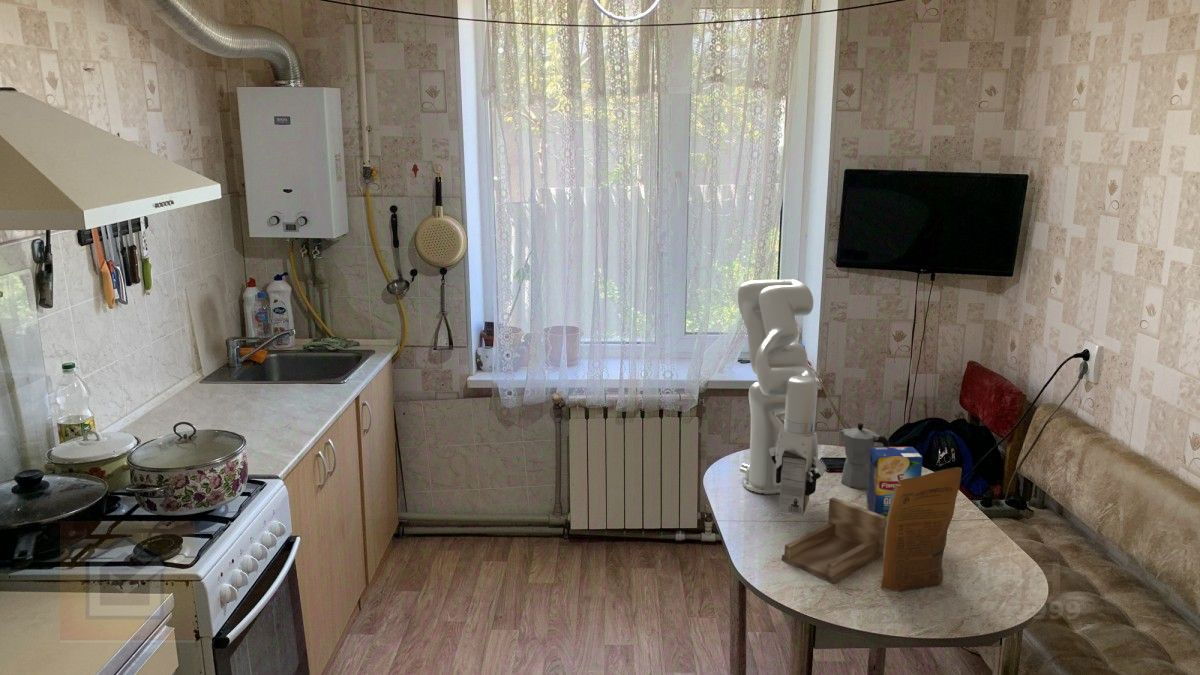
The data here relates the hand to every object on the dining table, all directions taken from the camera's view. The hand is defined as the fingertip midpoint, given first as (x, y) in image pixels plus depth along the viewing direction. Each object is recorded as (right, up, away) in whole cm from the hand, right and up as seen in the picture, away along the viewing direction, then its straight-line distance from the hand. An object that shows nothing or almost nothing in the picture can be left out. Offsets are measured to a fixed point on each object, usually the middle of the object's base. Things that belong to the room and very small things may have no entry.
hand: (795, 487), depth 229 cm
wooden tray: (+6, -15, -13) cm, 20 cm away
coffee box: (0, -5, +2) cm, 6 cm away
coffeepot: (+25, -4, +31) cm, 40 cm away
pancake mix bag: (+22, -18, -25) cm, 38 cm away
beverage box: (+24, -12, 0) cm, 27 cm away
